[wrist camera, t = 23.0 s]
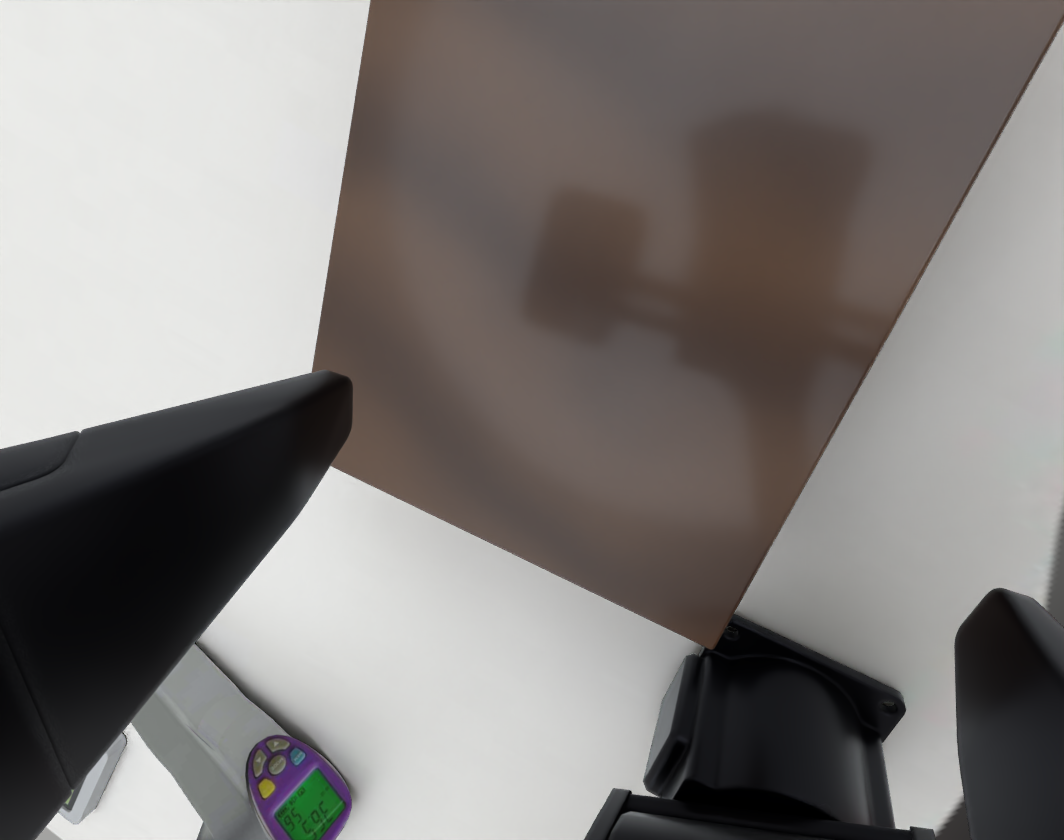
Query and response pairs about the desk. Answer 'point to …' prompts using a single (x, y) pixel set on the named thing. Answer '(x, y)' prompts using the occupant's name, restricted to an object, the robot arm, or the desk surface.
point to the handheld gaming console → (92, 785)
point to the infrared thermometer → (239, 760)
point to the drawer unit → (644, 260)
